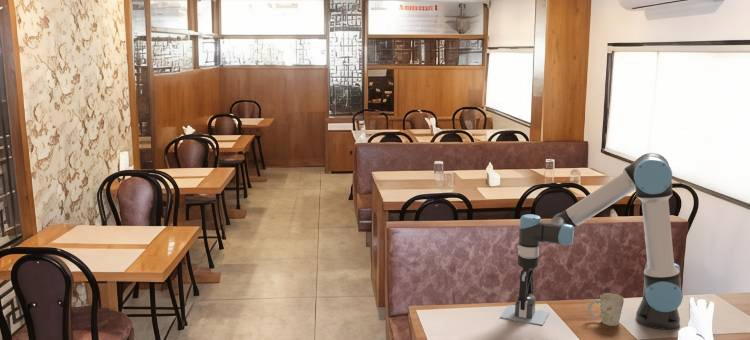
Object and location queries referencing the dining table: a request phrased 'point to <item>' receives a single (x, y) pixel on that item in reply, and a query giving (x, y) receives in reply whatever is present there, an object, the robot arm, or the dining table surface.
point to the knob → (529, 305)
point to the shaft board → (537, 318)
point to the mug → (608, 308)
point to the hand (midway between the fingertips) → (524, 313)
